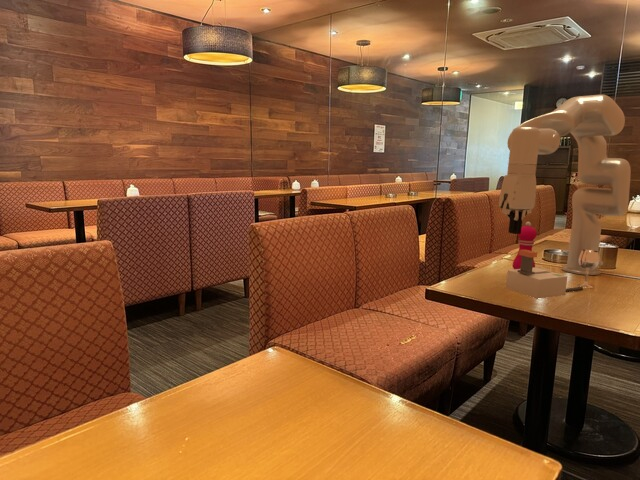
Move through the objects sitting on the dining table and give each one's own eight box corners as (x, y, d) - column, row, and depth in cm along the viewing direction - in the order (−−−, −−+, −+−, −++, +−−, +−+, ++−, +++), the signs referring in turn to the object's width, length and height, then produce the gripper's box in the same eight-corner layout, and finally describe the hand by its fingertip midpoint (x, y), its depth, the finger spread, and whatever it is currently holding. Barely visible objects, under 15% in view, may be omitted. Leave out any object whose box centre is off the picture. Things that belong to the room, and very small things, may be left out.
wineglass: (575, 286, 148) (580, 251, 146) (575, 282, 153) (579, 248, 151) (595, 289, 145) (600, 253, 143) (594, 285, 150) (599, 250, 148)
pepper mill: (529, 275, 161) (535, 220, 157) (536, 281, 154) (543, 223, 150) (508, 274, 162) (514, 219, 158) (515, 280, 155) (521, 222, 151)
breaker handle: (523, 270, 141) (526, 249, 139) (535, 274, 137) (538, 252, 136) (516, 271, 139) (518, 250, 138) (527, 275, 135) (530, 252, 134)
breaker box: (554, 282, 153) (556, 265, 152) (587, 292, 142) (589, 273, 141) (505, 288, 144) (507, 269, 143) (537, 299, 133) (539, 279, 132)
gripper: (529, 171, 136) (522, 230, 139) (492, 169, 130) (485, 232, 133) (550, 172, 130) (543, 234, 133) (512, 170, 124) (505, 236, 127)
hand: (514, 233), depth 133 cm, fingers closed
